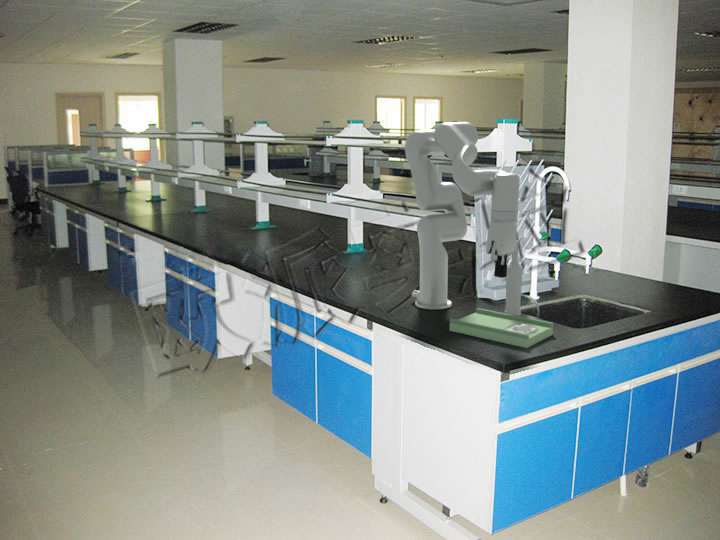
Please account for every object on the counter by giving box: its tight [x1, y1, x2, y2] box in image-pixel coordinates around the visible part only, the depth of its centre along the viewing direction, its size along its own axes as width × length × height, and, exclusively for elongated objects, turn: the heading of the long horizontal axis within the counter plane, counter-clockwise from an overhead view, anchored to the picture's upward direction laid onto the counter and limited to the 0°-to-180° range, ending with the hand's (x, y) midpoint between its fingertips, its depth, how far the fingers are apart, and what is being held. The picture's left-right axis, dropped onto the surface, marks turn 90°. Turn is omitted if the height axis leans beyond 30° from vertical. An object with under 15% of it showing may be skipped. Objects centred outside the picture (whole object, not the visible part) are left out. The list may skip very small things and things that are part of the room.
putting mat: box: [449, 307, 554, 349], centre depth 208 cm, size 26×16×4 cm, turn 49°
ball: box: [517, 324, 531, 332], centre depth 204 cm, size 4×4×4 cm
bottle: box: [504, 239, 523, 316], centre depth 223 cm, size 5×5×25 cm
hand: (500, 276), depth 206 cm, fingers closed
